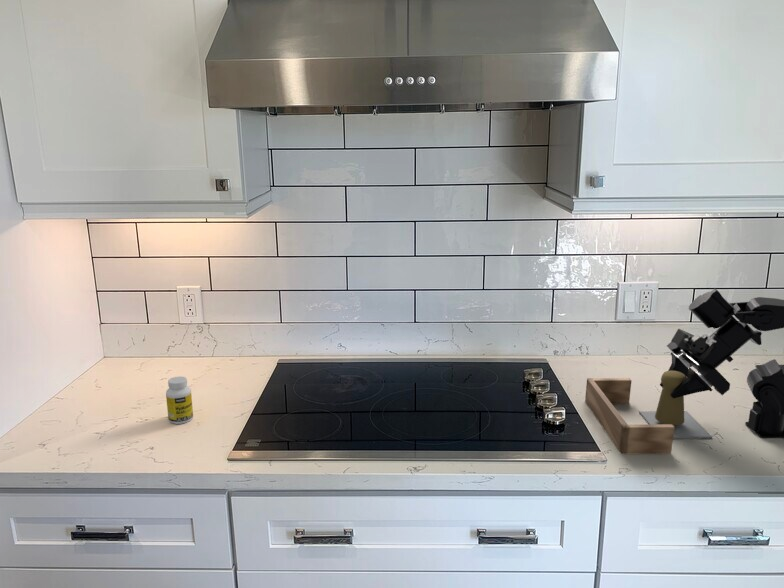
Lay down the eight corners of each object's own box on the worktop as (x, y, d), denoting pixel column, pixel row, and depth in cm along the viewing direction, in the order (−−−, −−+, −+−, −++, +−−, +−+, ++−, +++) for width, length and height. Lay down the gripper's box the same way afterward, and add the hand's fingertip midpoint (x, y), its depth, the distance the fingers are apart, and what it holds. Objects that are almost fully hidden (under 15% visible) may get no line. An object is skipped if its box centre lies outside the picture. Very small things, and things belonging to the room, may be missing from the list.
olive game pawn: (666, 426, 135) (672, 379, 132) (648, 414, 141) (653, 369, 138) (690, 423, 137) (696, 376, 134) (671, 411, 142) (677, 366, 139)
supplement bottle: (176, 427, 139) (172, 386, 136) (164, 419, 143) (159, 380, 140) (198, 418, 143) (194, 379, 140) (185, 411, 146) (181, 372, 144)
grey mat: (686, 412, 145) (686, 411, 145) (712, 438, 133) (712, 436, 133) (639, 412, 145) (639, 411, 145) (660, 438, 133) (660, 437, 133)
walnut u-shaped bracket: (627, 401, 151) (629, 378, 149) (671, 453, 127) (674, 427, 126) (585, 401, 151) (587, 378, 149) (621, 454, 127) (623, 427, 126)
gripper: (679, 305, 141) (626, 352, 144) (722, 333, 123) (660, 385, 126) (710, 338, 143) (657, 383, 146) (756, 369, 125) (695, 420, 128)
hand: (666, 391), depth 137 cm, fingers closed on olive game pawn, 5 cm apart
